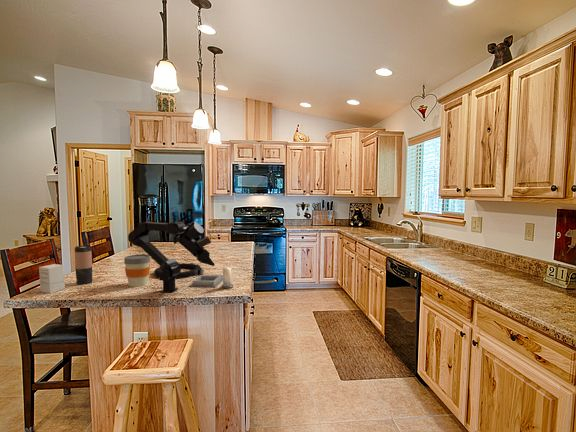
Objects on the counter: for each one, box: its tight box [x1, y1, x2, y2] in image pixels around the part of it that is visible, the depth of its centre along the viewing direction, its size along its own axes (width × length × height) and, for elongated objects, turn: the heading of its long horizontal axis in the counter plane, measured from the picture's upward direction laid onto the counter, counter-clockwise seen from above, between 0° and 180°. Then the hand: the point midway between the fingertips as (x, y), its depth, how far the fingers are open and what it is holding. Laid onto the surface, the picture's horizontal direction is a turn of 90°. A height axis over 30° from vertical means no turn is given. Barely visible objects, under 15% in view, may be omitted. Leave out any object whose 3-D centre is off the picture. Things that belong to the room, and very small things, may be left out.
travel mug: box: [74, 244, 93, 286], centre depth 169 cm, size 8×8×20 cm
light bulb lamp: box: [220, 266, 234, 290], centre depth 163 cm, size 6×6×10 cm
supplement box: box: [38, 263, 66, 294], centre depth 156 cm, size 7×7×13 cm
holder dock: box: [189, 274, 223, 288], centre depth 175 cm, size 22×14×3 cm, turn 174°
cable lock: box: [153, 262, 205, 279], centre depth 192 cm, size 28×4×30 cm
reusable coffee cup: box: [123, 254, 151, 288], centre depth 168 cm, size 12×13×15 cm
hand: (212, 263), depth 159 cm, fingers open, 9 cm apart
